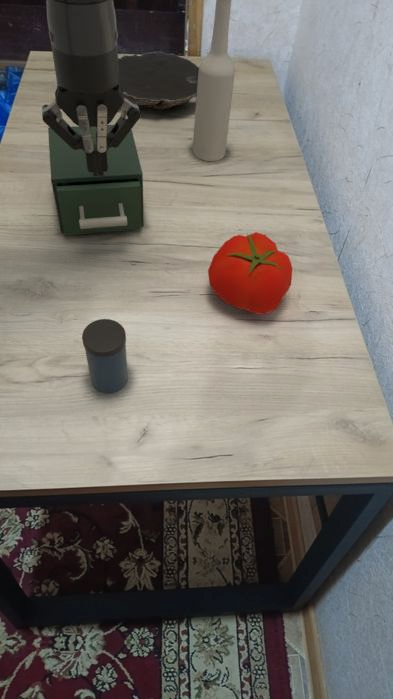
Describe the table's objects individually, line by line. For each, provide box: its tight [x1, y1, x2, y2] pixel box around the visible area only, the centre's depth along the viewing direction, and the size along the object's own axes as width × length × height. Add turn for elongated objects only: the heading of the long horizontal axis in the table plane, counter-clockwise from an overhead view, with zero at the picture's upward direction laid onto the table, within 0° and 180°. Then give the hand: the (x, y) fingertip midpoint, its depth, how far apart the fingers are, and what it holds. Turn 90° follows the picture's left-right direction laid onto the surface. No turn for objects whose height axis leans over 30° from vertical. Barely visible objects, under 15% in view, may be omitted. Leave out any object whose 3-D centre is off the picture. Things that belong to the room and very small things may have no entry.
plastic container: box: [81, 318, 129, 394], centre depth 61 cm, size 5×5×9 cm
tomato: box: [207, 231, 293, 315], centre depth 72 cm, size 13×12×8 cm
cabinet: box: [47, 124, 145, 234], centre depth 82 cm, size 15×14×10 cm
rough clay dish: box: [118, 51, 199, 112], centre depth 108 cm, size 22×22×5 cm
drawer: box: [56, 179, 142, 236], centre depth 79 cm, size 18×12×8 cm
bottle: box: [192, 0, 236, 162], centre depth 87 cm, size 7×7×28 cm
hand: (97, 172), depth 70 cm, fingers closed
